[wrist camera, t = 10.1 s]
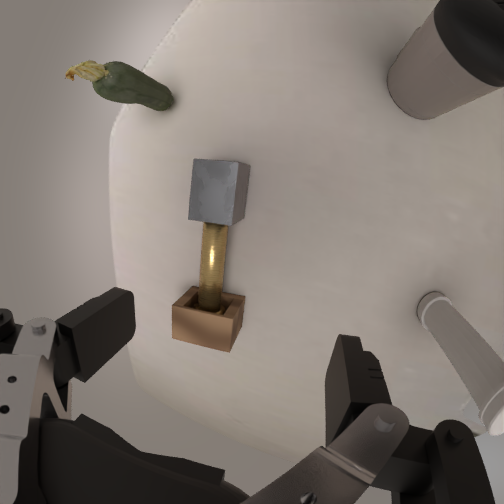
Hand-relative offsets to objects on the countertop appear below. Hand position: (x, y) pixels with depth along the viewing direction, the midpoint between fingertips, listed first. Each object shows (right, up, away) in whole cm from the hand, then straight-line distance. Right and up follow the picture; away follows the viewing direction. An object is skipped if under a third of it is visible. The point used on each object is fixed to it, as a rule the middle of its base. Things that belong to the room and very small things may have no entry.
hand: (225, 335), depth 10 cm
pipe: (+28, -5, +25) cm, 38 cm away
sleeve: (-2, +11, +27) cm, 29 cm away
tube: (-4, +2, +28) cm, 28 cm away
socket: (-4, -5, +31) cm, 32 cm away
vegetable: (-11, +24, +26) cm, 37 cm away
